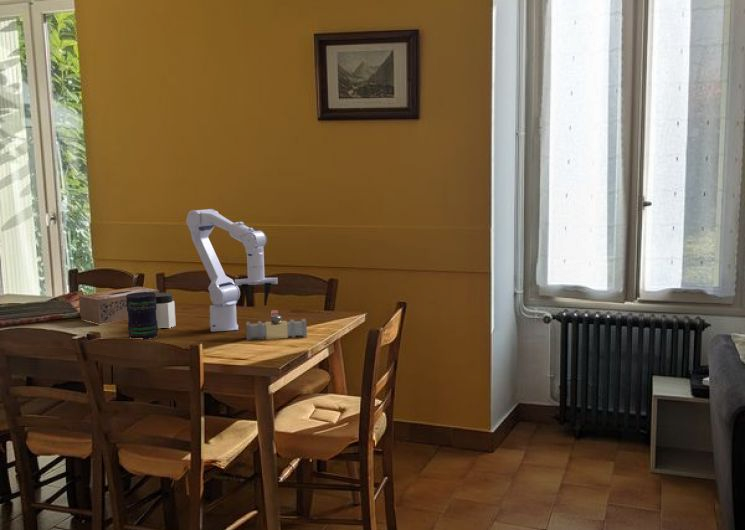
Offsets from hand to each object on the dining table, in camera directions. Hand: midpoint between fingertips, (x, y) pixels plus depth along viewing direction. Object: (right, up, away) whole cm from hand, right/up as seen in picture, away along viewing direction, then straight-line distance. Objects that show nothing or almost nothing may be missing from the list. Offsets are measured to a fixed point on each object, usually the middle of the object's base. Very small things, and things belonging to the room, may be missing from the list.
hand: (257, 305), depth 255 cm
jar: (-37, -9, +14) cm, 40 cm away
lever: (+6, -5, 0) cm, 8 cm away
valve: (+7, -11, -4) cm, 14 cm away
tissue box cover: (-58, -7, +33) cm, 67 cm away
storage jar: (-39, -11, -1) cm, 40 cm away
